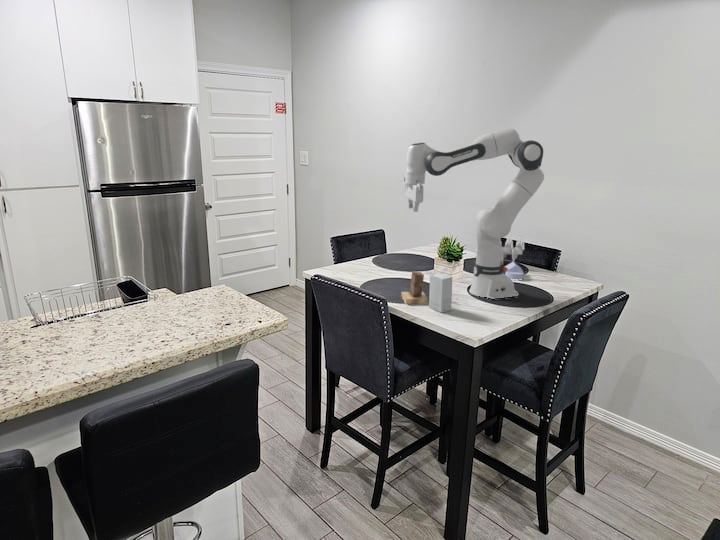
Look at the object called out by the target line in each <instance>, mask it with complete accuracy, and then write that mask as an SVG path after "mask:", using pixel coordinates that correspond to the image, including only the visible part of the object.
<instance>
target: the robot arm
mask: <svg viewBox="0 0 720 540" xmlns="http://www.w3.org/2000/svg"><path fill="white" fill-rule="evenodd" d="M406 152H407V153H406V160H405V161H406V170H405V176H404V177H403V182H404V195H405V198H407V203H408V209H413V212H414V213H417V212H418V211H419V206H420V204H422V203H423V202H424V186H423V185H425V184H426V183H425V182H426V172H428V173H429V174H430V175H431V176H435V177H436V176H437V177H438V176H442V175H443V174H446V173H447V172H448V171H449V170H450V169H452V168H453V167H456V166H460V165H462V164H466V163H469V162H471V161H483V160H490V159H495V158H497V157H502V156H505V155H507V156H508V158H510V161H511V162H512V164H513V165H514V166H515V167H517V168H519V171H518V173H517V175H516V176H515V177H514V178H513V180H511V182H510V183H509V184H508V186H507V187H506V188H505V189H504V190H503V191H502V192H501V193H500V195H499V198H498V201H497V202H496V204H495V206H494V208H483V209H481V210H480V211H478V212H477V214H476V216H475V223H476V243H477V246H476V247H477V254H476V259H475V262H474V267H473V278H472V282H471V286H470V289H469V290H468V291H469V294H471V295H473V296H475V297H479V296H480V298H484V297H487V298H486V299H488V298H491V299H495V298H504V297H512V296H518V295H519V292H518V291H517V290H516V289H515V283H514V282H513V281H514V280H511V279H510V278H509V277H507V276H506V275H505V272H507V271H508V268H506V267H505V265H503V266H502V265H501V255H502V247H503V246H502V243H501V242H502V241H501V240H502V238H505V237H506V236H509V234H510V232H511V231H512V225H513V223H514V222H515V220H516V218H517V216H518V215H519V213H520V211H521V210H522V209H523V208H524V206H526V204H527V203H528V202H529V200H530V199H532V197H533V196H534V195H535V193H536V192H537V191H538V190H539V188H540V187H541V184H542V183H543V181H544V180H545V174H544V172H543V170H542V169H541V166H542V163H543V157H544V148H543V145H541V143H540V142H538V141H536V140H532V139H531V140H525V141H523V140H521V138H520V134H519V133H518V131H517V130H516V129H514V128H505V129H498V130H495V131H491V132H488V133H485V134H482V135H479V137H477V138H475V140H473V141H472V142H471V143H469V145H467V146H465V147H461V148H459V149H455V150H452V151H448V152H443V151H439V150H437V149H434V148H432V147H431V146H430V145H427V144H426V142H418V143H412V144H410V145H409V146H408V148H407V151H406ZM516 293H517V294H516ZM519 296H520V295H519ZM491 299H490V300H491ZM495 300H496V299H495Z"/></svg>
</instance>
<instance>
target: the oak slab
mask: <svg viewBox="0 0 720 540" xmlns="http://www.w3.org/2000/svg"><path fill="white" fill-rule="evenodd" d="M400 293H401V294H400V298H401V297H402V298H401V299H402V301H403V300H404V301H403V302H404V304H405V305H406V304H414V305H429V296H427V294H425V292H424V291H423V290H422V296H421V297H413V296H412V295H411V294H410V291H401V292H400Z"/></svg>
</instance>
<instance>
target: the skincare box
mask: <svg viewBox="0 0 720 540" xmlns="http://www.w3.org/2000/svg"><path fill="white" fill-rule="evenodd" d="M428 291H429V295H428V299H429V302H428V308H430V309H432V310H434V311H437V312H438V313H441V314H443V313H447V312H450V311H451V310H452V298H453V276H451V275H447V274H443V273H440V272H438V273H437V272H436V273H433V274H430V275H429V290H428Z"/></svg>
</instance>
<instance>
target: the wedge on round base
mask: <svg viewBox="0 0 720 540" xmlns="http://www.w3.org/2000/svg"><path fill="white" fill-rule="evenodd" d="M504 267H506V268H508V271H507V272H505V271H504V274H505V275H506V276H507V277H509V278H510V279H518V280H519V279H524V271H523V269H522V267H521V266H520V265H518V264H517V263H516V262H512V261H511V262H510V263H508V264H506V265H504Z"/></svg>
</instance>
